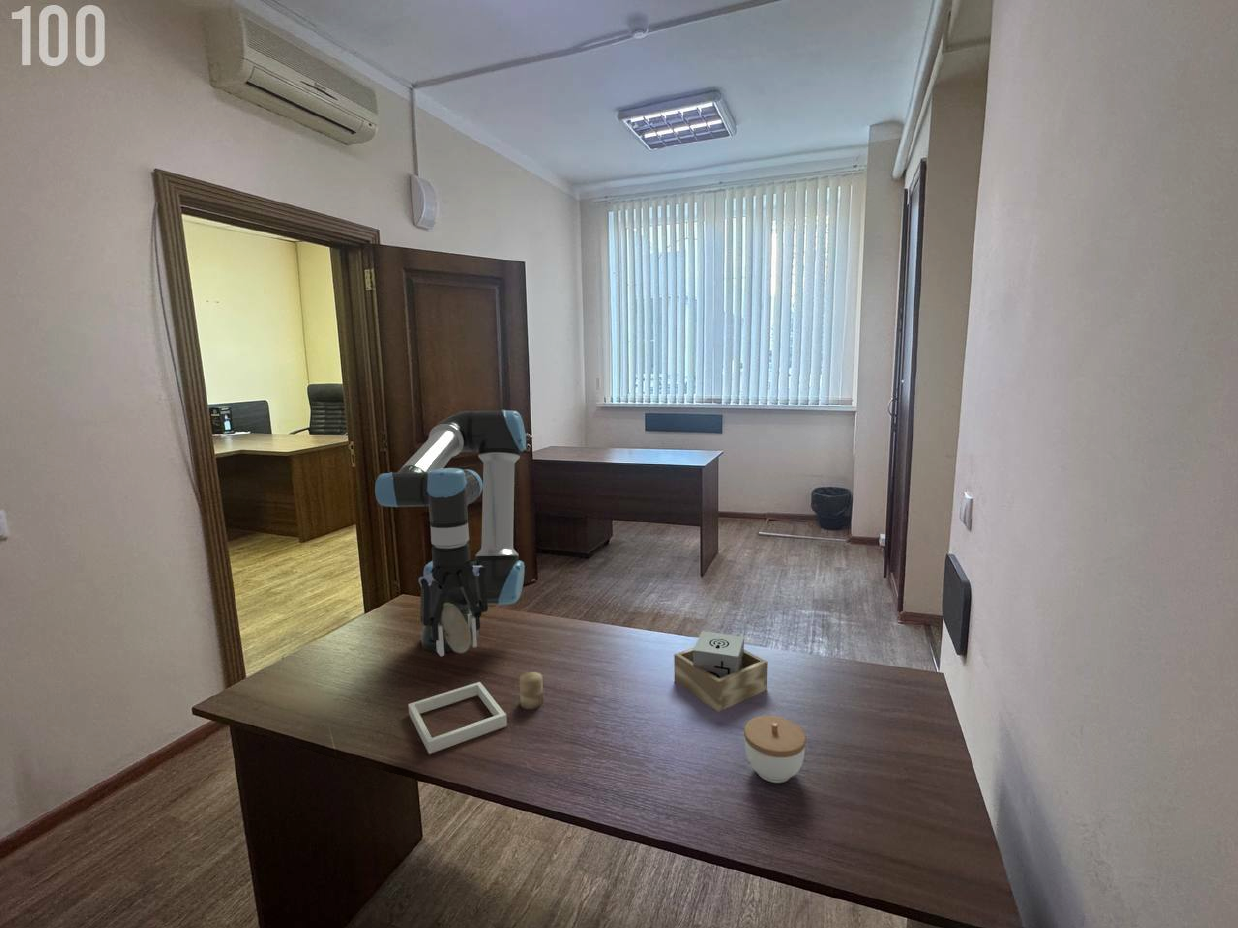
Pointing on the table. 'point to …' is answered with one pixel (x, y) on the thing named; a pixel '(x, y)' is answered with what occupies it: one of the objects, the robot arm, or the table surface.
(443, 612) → the stone
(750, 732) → the lidded jar
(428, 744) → the white rectangular frame
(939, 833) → the table surface
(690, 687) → the oak crate
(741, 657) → the icon cube
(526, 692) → the short oak dowel
